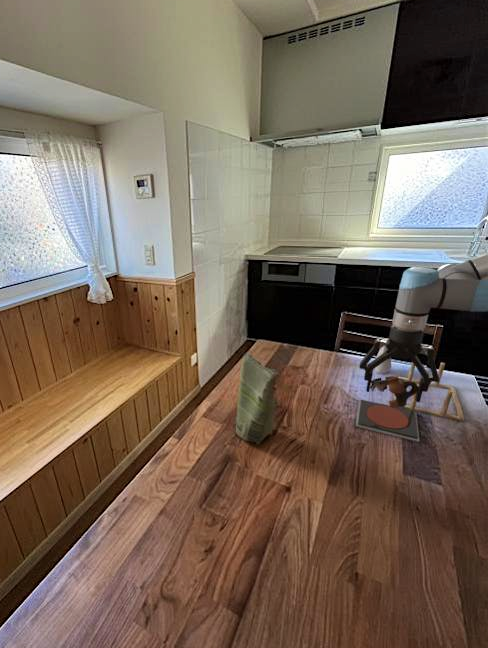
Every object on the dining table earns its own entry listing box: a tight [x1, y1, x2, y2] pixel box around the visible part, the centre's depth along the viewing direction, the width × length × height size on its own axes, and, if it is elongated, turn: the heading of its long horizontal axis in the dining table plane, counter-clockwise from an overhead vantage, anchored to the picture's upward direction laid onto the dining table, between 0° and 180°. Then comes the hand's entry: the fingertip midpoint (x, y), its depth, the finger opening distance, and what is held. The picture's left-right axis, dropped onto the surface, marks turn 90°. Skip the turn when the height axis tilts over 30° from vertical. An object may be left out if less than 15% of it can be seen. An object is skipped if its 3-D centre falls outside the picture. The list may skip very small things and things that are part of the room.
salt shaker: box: [373, 338, 392, 375], centre depth 125 cm, size 6×6×13 cm
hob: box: [355, 399, 421, 443], centre depth 102 cm, size 16×14×1 cm
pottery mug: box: [370, 375, 418, 408], centre depth 98 cm, size 12×10×8 cm
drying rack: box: [393, 361, 465, 422], centre depth 110 cm, size 18×19×9 cm
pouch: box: [235, 352, 279, 445], centre depth 95 cm, size 11×12×25 cm
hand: (392, 394), depth 98 cm, fingers closed on pottery mug, 12 cm apart
